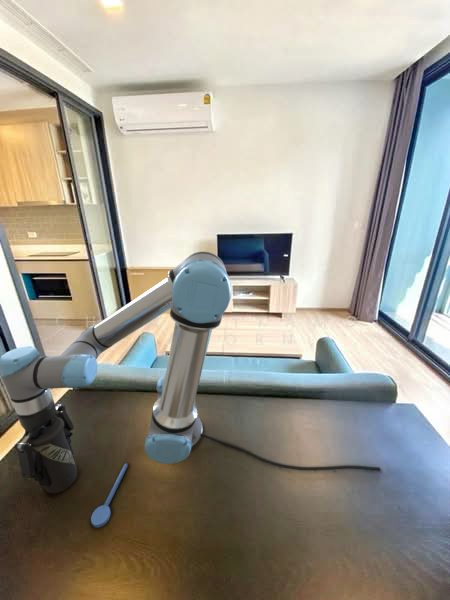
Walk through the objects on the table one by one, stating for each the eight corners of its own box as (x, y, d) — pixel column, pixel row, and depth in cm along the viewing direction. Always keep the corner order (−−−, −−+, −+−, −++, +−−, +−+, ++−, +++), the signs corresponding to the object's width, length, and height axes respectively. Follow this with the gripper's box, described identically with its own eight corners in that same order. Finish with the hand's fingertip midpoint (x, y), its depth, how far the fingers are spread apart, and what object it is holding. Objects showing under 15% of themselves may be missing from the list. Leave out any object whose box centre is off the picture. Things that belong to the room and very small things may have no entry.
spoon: (120, 464, 76) (119, 461, 76) (134, 466, 76) (133, 463, 75) (87, 526, 61) (86, 523, 61) (104, 528, 61) (103, 525, 60)
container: (62, 498, 67) (43, 444, 60) (35, 491, 69) (12, 437, 62) (85, 467, 75) (70, 416, 68) (60, 462, 77) (42, 411, 70)
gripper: (53, 378, 73) (71, 436, 81) (-21, 440, 53) (12, 508, 61) (76, 379, 72) (92, 438, 80) (10, 443, 52) (40, 512, 60)
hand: (57, 468), depth 70 cm, fingers closed on container, 8 cm apart
